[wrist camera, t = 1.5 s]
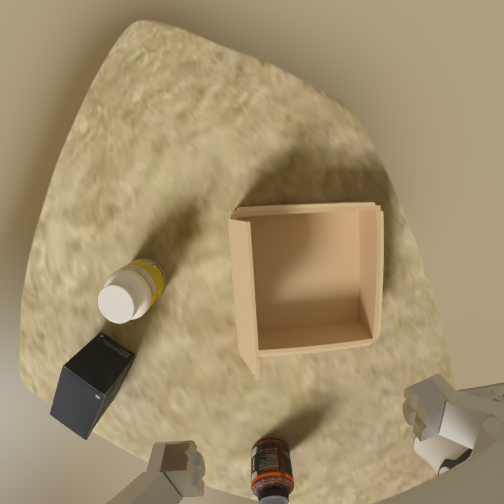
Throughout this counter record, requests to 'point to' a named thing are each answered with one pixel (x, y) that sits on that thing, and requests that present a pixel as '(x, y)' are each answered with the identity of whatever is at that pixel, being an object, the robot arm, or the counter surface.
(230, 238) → the flap
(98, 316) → the counter surface
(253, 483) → the supplement bottle
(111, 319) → the supplement bottle
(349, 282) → the carton
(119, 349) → the small box
